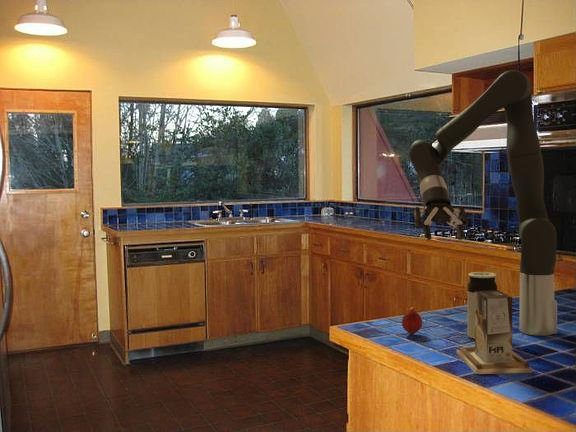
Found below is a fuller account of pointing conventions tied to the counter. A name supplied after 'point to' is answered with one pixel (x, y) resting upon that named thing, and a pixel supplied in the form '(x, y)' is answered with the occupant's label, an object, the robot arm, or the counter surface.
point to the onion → (412, 321)
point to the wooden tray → (492, 368)
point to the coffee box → (493, 326)
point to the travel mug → (476, 283)
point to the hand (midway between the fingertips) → (445, 238)
